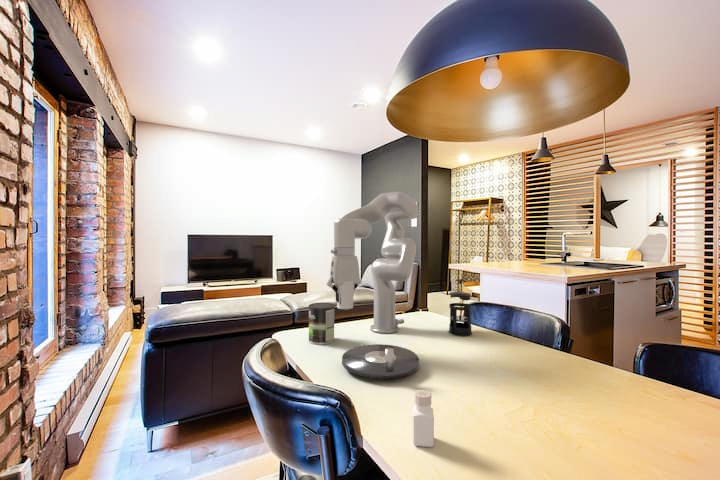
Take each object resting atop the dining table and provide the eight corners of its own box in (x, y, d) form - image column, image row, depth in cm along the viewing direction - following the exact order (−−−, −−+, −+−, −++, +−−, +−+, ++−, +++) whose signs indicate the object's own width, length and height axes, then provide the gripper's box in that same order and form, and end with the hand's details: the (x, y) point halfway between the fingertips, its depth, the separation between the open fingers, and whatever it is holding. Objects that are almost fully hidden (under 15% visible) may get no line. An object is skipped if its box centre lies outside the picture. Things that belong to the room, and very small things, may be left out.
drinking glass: (356, 306, 117) (356, 279, 117) (351, 310, 110) (351, 281, 110) (339, 305, 119) (339, 278, 119) (333, 308, 112) (333, 280, 112)
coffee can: (312, 346, 118) (312, 308, 118) (305, 338, 127) (305, 303, 127) (338, 342, 122) (338, 306, 122) (329, 335, 132) (329, 301, 132)
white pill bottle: (432, 436, 64) (432, 389, 64) (434, 449, 60) (434, 399, 60) (412, 434, 65) (412, 388, 65) (412, 447, 61) (412, 397, 61)
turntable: (338, 354, 109) (338, 329, 109) (404, 350, 113) (404, 325, 113) (348, 386, 85) (348, 353, 85) (431, 379, 90) (431, 348, 90)
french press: (463, 338, 128) (463, 281, 128) (443, 333, 135) (443, 279, 135) (478, 332, 136) (478, 279, 136) (458, 327, 143) (458, 277, 143)
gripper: (327, 253, 107) (327, 307, 107) (369, 252, 115) (369, 302, 115) (319, 252, 114) (319, 303, 114) (359, 251, 122) (359, 299, 122)
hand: (344, 302), depth 115 cm, fingers closed on drinking glass, 3 cm apart
